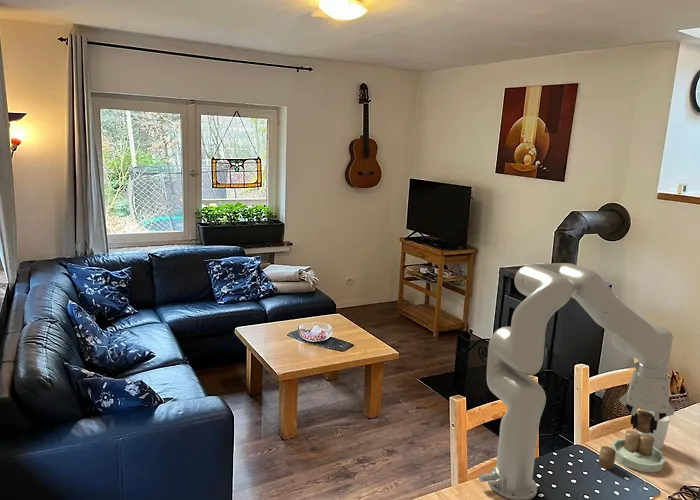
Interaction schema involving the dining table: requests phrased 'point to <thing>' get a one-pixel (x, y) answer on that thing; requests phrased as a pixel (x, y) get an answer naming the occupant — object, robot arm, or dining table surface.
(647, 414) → the bead
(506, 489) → the robot arm
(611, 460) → the bead
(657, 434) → the white cup
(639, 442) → the tray
